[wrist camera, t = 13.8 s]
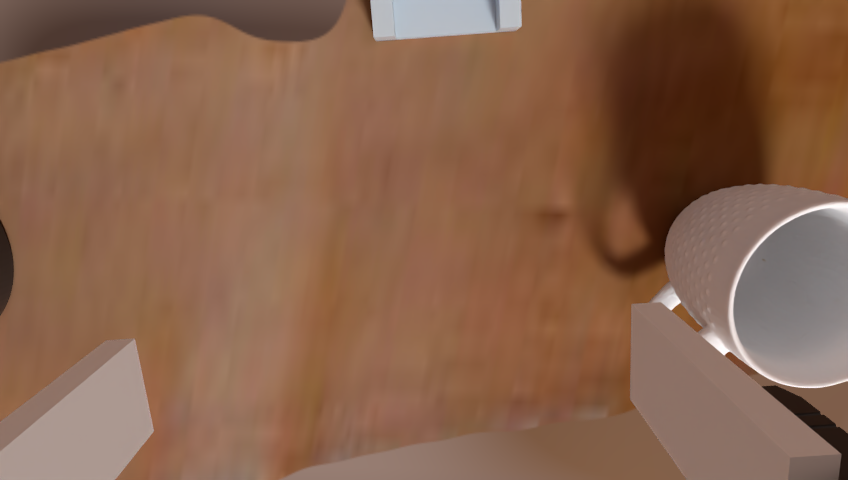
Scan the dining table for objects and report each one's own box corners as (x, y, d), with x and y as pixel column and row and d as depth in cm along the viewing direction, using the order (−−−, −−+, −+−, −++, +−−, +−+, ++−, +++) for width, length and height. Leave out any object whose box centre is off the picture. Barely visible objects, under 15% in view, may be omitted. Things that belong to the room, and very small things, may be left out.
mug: (655, 365, 47) (744, 465, 34) (570, 270, 45) (630, 338, 32) (810, 245, 44) (967, 304, 32) (727, 138, 42) (859, 155, 30)
